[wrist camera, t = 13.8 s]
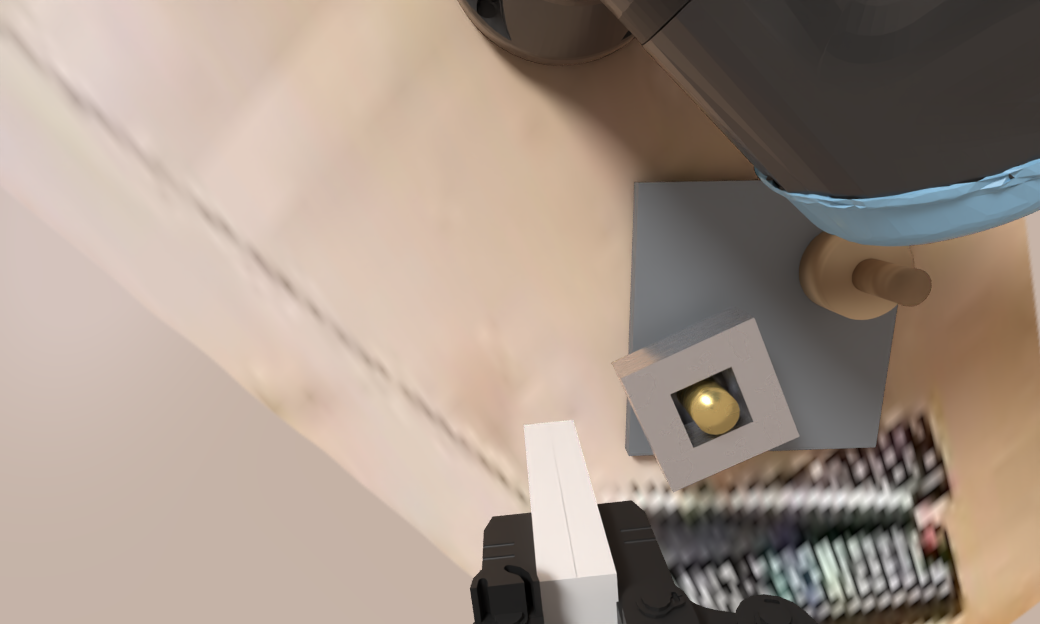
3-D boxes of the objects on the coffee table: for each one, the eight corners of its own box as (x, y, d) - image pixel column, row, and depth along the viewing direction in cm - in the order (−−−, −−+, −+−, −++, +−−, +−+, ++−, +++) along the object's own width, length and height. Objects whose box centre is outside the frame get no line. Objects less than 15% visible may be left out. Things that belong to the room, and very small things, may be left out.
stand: (803, 224, 39) (869, 237, 32) (889, 223, 39) (972, 235, 32) (794, 310, 40) (855, 338, 33) (877, 307, 40) (953, 336, 34)
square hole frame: (611, 362, 38) (620, 378, 36) (734, 306, 38) (754, 317, 35) (660, 468, 41) (673, 492, 38) (777, 416, 40) (799, 436, 37)
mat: (634, 182, 39) (638, 182, 37) (905, 177, 39) (917, 178, 38) (625, 448, 44) (628, 455, 42) (865, 440, 44) (875, 447, 43)
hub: (640, 334, 40) (664, 362, 34) (737, 331, 40) (777, 359, 35) (636, 425, 42) (659, 466, 36) (729, 421, 42) (767, 462, 36)
